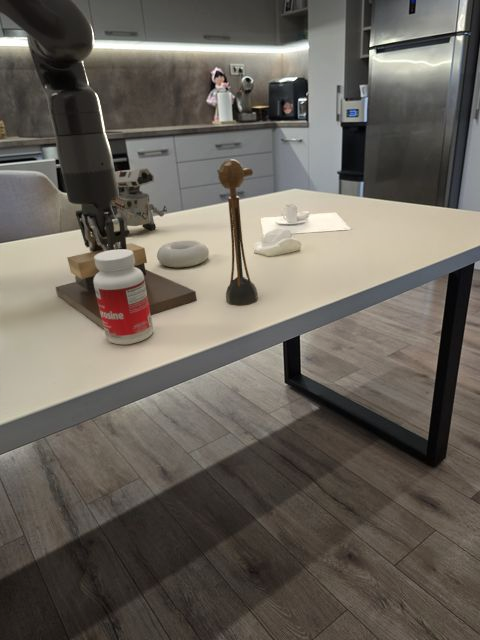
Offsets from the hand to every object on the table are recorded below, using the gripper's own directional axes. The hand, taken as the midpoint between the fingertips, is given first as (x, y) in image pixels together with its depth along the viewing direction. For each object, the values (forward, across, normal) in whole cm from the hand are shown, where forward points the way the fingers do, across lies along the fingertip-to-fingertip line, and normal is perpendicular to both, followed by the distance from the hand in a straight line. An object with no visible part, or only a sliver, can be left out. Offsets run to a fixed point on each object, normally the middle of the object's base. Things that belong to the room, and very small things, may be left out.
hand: (111, 277), depth 79 cm
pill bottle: (+3, -18, +6) cm, 20 cm away
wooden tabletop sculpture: (+3, -19, -13) cm, 23 cm away
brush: (0, 0, 0) cm, 0 cm away
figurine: (+3, +37, -23) cm, 44 cm away
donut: (+3, +6, -17) cm, 18 cm away
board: (+3, -4, 0) cm, 5 cm away
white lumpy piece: (+3, -2, -34) cm, 34 cm away
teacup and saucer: (+3, +12, -54) cm, 55 cm away
